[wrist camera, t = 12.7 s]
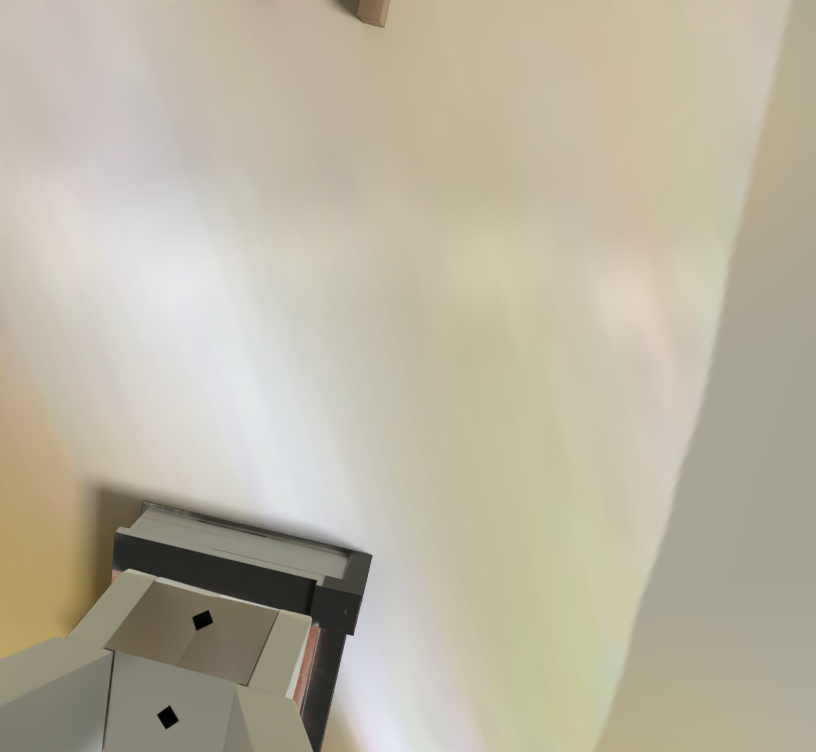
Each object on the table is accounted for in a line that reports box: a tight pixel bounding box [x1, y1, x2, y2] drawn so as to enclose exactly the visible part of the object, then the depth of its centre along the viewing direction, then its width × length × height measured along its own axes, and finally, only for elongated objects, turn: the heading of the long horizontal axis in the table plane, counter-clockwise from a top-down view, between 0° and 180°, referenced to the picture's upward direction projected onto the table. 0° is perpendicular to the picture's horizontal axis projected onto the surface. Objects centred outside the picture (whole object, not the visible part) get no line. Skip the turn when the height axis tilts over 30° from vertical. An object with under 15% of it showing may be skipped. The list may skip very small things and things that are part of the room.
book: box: [101, 501, 372, 752], centre depth 49 cm, size 26×17×5 cm, turn 168°
